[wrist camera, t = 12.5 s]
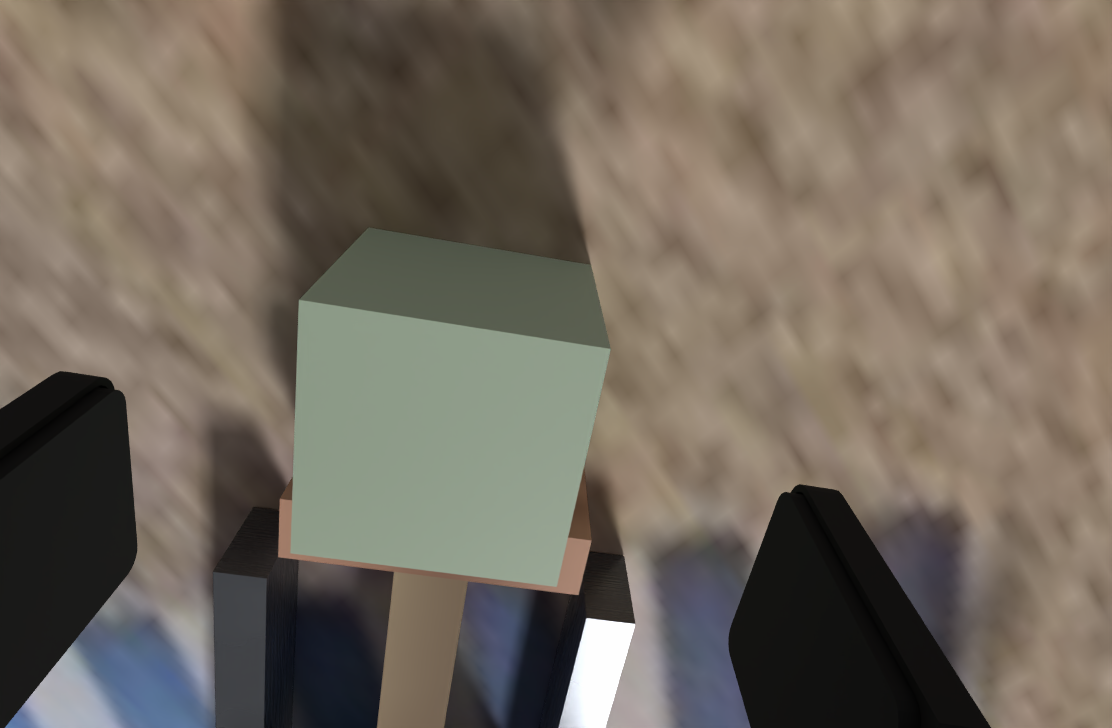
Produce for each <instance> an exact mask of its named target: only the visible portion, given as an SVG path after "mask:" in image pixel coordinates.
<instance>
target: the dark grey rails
mask: <svg viewBox="0 0 1112 728" xmlns="http://www.w3.org/2000/svg"><path fill="white" fill-rule="evenodd" d="M278 548H279V511H278V510H271V509H263V508H255V507H253V509H252V511H251V512H250V514H249V515H248V517H247V519H246V520H245V522H244V523H243V525H242V526H241V528H240V530H239V531H238V533H237V534H236V536H235V538H234V539H233V541H232V542H231V544H230V546H229V547H228V549H227V550H226V552H225V554H224V555H223V557H222V558H221V560H220V562H219V563H218V565H217V566H216V568H215V570H214V571H213V598H214V648H215V699H216V728H292V706H293V682H294V657H295V633H296V608H297V584H298V560H297V559H289V558H281V557H278ZM634 627H635V619H634V613H633V607H632V601H631V595H630V589H629V583H628V577H627V571H626V565H625V559H624V556H618V555H611V554H603V553H595V552H589V554H588V558H587V562H586V566H585V570H584V574H583V578H582V582H581V586H580V591H579V595H573V594H571V595H570V599H569V603H568V607H567V611H566V616H565V620H564V624H563V628H562V632H561V636H560V641H559V645H558V649H557V653H556V657H555V662H554V666H553V670H552V674H551V678H550V682H549V687H548V691H547V695H546V699H545V703H544V708H543V712H542V716H541V720H540V724H539V728H605V726H606V723H607V719H608V716H609V712H610V709H611V706H612V702H613V699H614V695H615V692H616V689H617V685H618V682H619V678H620V675H621V671H622V668H623V665H624V661H625V658H626V654H627V651H628V648H629V644H630V641H631V637H632V634H633V630H634Z"/></svg>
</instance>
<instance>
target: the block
mask: <svg viewBox="0 0 1112 728" xmlns="http://www.w3.org/2000/svg"><path fill="white" fill-rule="evenodd" d="M610 350H611V348H610V344H609V340H608V335H607V331H606V327H605V323H604V318H603V314H602V310H601V306H600V301H599V297H598V293H597V288H596V284H595V280H594V276H593V271H592V267H591V265H589V264H583V263H577V262H571V261H565V260H559V259H553V258H547V257H541V256H535V255H529V254H523V253H517V252H511V251H506V250H500V249H494V248H488V247H482V246H476V245H470V244H464V243H458V242H452V241H446V240H440V239H434V238H428V237H422V236H416V235H411V234H405V233H399V232H393V231H387V230H381V229H375V228H369V227H368V229H367V230H366V231H365V232H364V233H363V234H362V235H361V236H360V237H359V238H358V239H357V240H356V241H355V242H354V243H353V244H352V245H351V246H350V247H349V248H348V249H347V250H346V251H345V252H344V253H343V254H342V256H341V257H340V258H339V259H338V260H337V261H336V262H335V263H334V264H333V265H332V266H331V267H330V268H329V269H328V270H327V271H326V272H325V273H324V274H323V275H322V276H321V277H320V278H319V279H318V280H317V282H316V283H315V284H314V285H313V286H312V287H311V288H310V289H309V290H308V291H307V292H306V293H305V294H304V295H303V296H302V297H301V298H300V299H299V311H298V341H297V371H296V401H295V431H294V461H293V490H292V520H291V550H290V553H292V554H299V555H307V556H315V557H323V558H331V559H339V560H347V561H355V562H363V563H371V564H379V565H387V566H395V567H403V568H411V569H418V570H426V571H434V572H442V573H450V574H458V575H466V576H474V577H482V578H490V579H498V580H506V581H514V582H522V583H529V584H537V585H545V586H553V587H557V584H558V579H559V575H560V570H561V566H562V562H563V557H564V553H565V548H566V544H567V540H568V535H569V531H570V526H571V522H572V517H573V513H574V509H575V504H576V500H577V495H578V491H579V487H580V482H581V478H582V473H583V469H584V465H585V460H586V456H587V451H588V447H589V443H590V438H591V434H592V429H593V425H594V421H595V416H596V412H597V407H598V403H599V398H600V394H601V390H602V385H603V381H604V376H605V372H606V368H607V363H608V359H609V354H610Z"/></svg>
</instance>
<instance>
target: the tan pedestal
mask: <svg viewBox="0 0 1112 728" xmlns="http://www.w3.org/2000/svg"><path fill="white" fill-rule="evenodd" d="M292 490H293V477H292V479H291V480H290V482H289V484H288V486H287V487H286V489H285V491H284V493H283V494H282V496H281V498H280V510H279V548H278V557H281V558H289V559H297V560H305V561H312V562H320V563H328V564H336V565H344V566H352V567H360V568H368V569H376V570H384V571H391V572H394V577H393V586H392V595H391V604H390V613H389V623H388V632H387V641H386V650H385V659H384V668H383V677H382V687H381V696H380V705H379V714H378V723H377V728H444V725H445V719H446V712H447V706H448V700H449V694H450V688H451V682H452V676H453V669H454V663H455V657H456V651H457V645H458V639H459V633H460V627H461V620H462V614H463V608H464V602H465V596H466V590H467V584H468V581H470V582H478V583H486V584H494V585H502V586H510V587H518V588H526V589H534V590H542V591H549V592H557V593H565V594H573V595H579V591H580V586H581V582H582V578H583V574H584V570H585V566H586V562H587V558H588V554H589V550H590V546H591V542H592V539H591V529H590V519H589V510H588V500H587V491H586V481H585V471H584V469H583V473H582V478H581V482H580V487H579V491H578V495H577V500H576V504H575V509H574V513H573V517H572V522H571V526H570V531H569V535H568V540H567V544H566V548H565V553H564V557H563V562H562V566H561V570H560V575H559V579H558V584H557V587H553V586H545V585H537V584H529V583H522V582H514V581H506V580H498V579H490V578H482V577H474V576H466V575H458V574H450V573H442V572H434V571H426V570H418V569H411V568H403V567H395V566H387V565H379V564H371V563H363V562H355V561H347V560H339V559H331V558H323V557H315V556H307V555H299V554H292V553H290V550H291V520H292Z"/></svg>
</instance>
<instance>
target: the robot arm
mask: <svg viewBox="0 0 1112 728" xmlns="http://www.w3.org/2000/svg"><path fill="white" fill-rule="evenodd" d="M136 554H137V534H136V522H135V509H134V497H133V484H132V472H131V459H130V447H129V434H128V422H127V409H126V400H125V396H124V394H123V393H122V392H121V391H119V390H115V389H114V386H113V384H112V382H111V381H110V380H109V379H107V378H104V377H97V376H91V375H84V374H78V373H71V372H63V371H60V372H57V373H55V374H53V375H51V376H50V377H48V378H47V379H45V380H44V381H42V382H41V383H39V384H38V385H36V386H35V387H33V388H32V389H30V390H29V391H27V392H26V393H24V394H23V395H21V396H20V397H18V398H17V399H15V400H14V401H12V402H11V403H9V404H8V405H6V406H4V407H3V408H1V409H0V728H5V727H6V725H7V724H8V723H9V722H10V720H11V719H12V718H13V717H14V715H15V714H16V713H17V712H18V710H19V709H20V708H21V707H22V705H23V704H24V703H25V702H26V701H27V699H28V698H29V697H30V696H31V694H32V693H33V692H34V691H35V689H36V688H37V687H38V686H39V684H40V683H41V682H42V681H43V679H44V678H45V677H46V676H47V674H48V673H49V672H50V671H51V669H52V668H53V667H54V666H55V664H56V663H57V662H58V661H59V659H60V658H61V657H62V656H63V654H64V653H65V652H66V651H67V649H68V648H69V647H70V646H71V645H72V643H73V642H74V641H75V640H76V638H77V637H78V636H79V635H80V633H81V632H82V631H83V630H84V628H85V627H86V626H87V625H88V623H89V622H90V621H91V620H92V618H93V617H94V616H95V615H96V613H97V612H98V611H99V610H100V608H101V607H102V606H103V605H104V603H105V602H106V601H107V600H108V598H109V597H110V596H111V595H112V593H113V592H114V591H115V590H116V588H117V587H118V586H119V585H120V584H121V582H122V581H123V580H124V579H125V577H126V576H127V575H128V573H129V572H130V570H131V568H132V566H133V564H134V561H135V558H136ZM729 653H730V657H731V661H732V664H733V668H734V671H735V674H736V678H737V681H738V685H739V688H740V692H741V695H742V699H743V702H744V706H745V709H746V713H747V716H748V720H749V723H750V727H751V728H991V727H990V725H989V724H988V722H987V721H986V719H985V718H984V716H983V714H982V713H981V711H980V710H979V708H978V707H977V705H976V703H975V702H974V700H973V699H972V697H971V696H970V694H969V693H968V691H967V689H966V688H965V686H964V685H963V683H962V682H961V680H960V678H959V677H958V675H957V674H956V672H955V671H954V669H953V667H952V666H951V664H950V663H949V661H948V660H947V658H946V656H945V655H944V653H943V652H942V650H941V649H940V647H939V646H938V644H937V642H936V641H935V639H934V638H933V636H932V635H931V633H930V631H929V630H928V628H927V627H926V625H925V624H924V622H923V620H922V619H921V617H920V616H919V614H918V613H917V611H916V609H915V608H914V606H913V605H912V603H911V602H910V600H909V599H908V597H907V595H906V594H905V592H904V591H903V589H902V588H901V586H900V584H899V583H898V581H897V580H896V578H895V577H894V575H893V573H892V572H891V570H890V569H889V567H888V566H887V564H886V563H885V561H884V559H883V558H882V556H881V555H880V553H879V552H878V550H877V548H876V547H875V545H874V544H873V542H872V541H871V539H870V537H869V536H868V534H867V533H866V531H865V530H864V528H863V526H862V525H861V523H860V522H859V520H858V519H857V517H856V516H855V514H854V512H853V511H852V509H851V508H850V506H849V505H848V503H847V501H846V500H845V498H844V497H843V495H842V494H841V493H840V492H839V491H837V490H833V489H827V488H820V487H814V486H807V485H801V484H799V485H797V486H795V487H794V488H793V490H792V491H791V493H788V492H784V493H782V494H781V495H780V497H779V499H778V501H777V503H776V506H775V509H774V511H773V514H772V517H771V520H770V522H769V525H768V528H767V530H766V533H765V536H764V538H763V541H762V544H761V547H760V549H759V552H758V555H757V557H756V560H755V563H754V565H753V568H752V571H751V573H750V576H749V579H748V582H747V584H746V587H745V590H744V592H743V595H742V598H741V600H740V603H739V606H738V609H737V611H736V614H735V617H734V619H733V622H732V625H731V628H730V632H729Z"/></svg>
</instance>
